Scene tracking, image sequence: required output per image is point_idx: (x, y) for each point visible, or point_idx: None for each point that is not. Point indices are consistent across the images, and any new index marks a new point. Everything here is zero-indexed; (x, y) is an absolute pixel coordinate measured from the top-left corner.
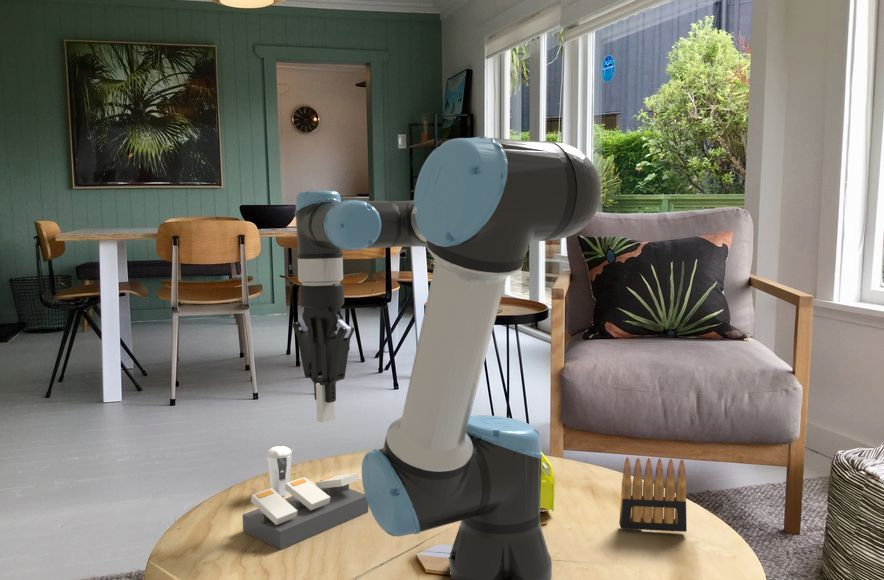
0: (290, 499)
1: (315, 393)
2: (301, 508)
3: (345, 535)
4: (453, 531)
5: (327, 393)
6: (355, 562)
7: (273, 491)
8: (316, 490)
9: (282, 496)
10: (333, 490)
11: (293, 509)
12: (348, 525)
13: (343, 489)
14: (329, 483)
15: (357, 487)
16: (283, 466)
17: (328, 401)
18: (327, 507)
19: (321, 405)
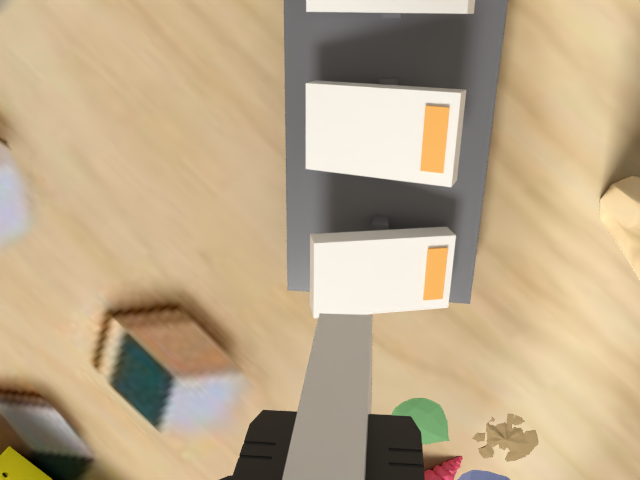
0: (471, 117)
1: (409, 455)
2: None
3: (228, 117)
4: (56, 298)
5: (262, 460)
6: (79, 13)
7: (443, 3)
8: (358, 157)
9: (605, 192)
10: None
11: (319, 3)
12: (272, 170)
13: None
14: (378, 235)
15: (451, 373)
16: (636, 231)
17: (270, 417)
18: None
19: (315, 375)
